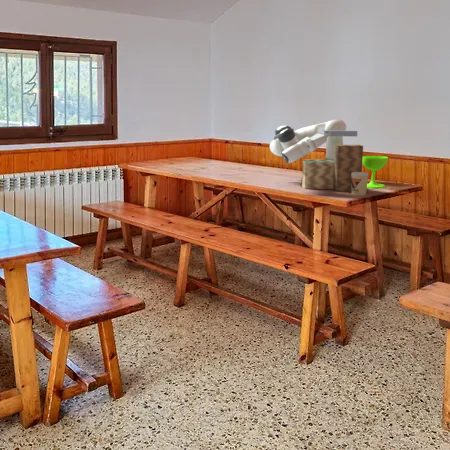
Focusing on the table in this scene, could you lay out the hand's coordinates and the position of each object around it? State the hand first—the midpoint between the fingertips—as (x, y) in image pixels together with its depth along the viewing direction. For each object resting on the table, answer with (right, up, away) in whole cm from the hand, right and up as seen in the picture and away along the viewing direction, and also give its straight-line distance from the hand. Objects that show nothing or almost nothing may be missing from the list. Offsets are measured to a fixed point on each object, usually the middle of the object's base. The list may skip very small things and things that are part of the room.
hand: (330, 132), depth 343 cm
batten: (+6, -2, +1) cm, 6 cm away
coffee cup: (+15, -36, -7) cm, 39 cm away
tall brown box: (+11, -32, +7) cm, 35 cm away
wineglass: (+30, -30, +22) cm, 47 cm away
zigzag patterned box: (-1, -30, +18) cm, 35 cm away
